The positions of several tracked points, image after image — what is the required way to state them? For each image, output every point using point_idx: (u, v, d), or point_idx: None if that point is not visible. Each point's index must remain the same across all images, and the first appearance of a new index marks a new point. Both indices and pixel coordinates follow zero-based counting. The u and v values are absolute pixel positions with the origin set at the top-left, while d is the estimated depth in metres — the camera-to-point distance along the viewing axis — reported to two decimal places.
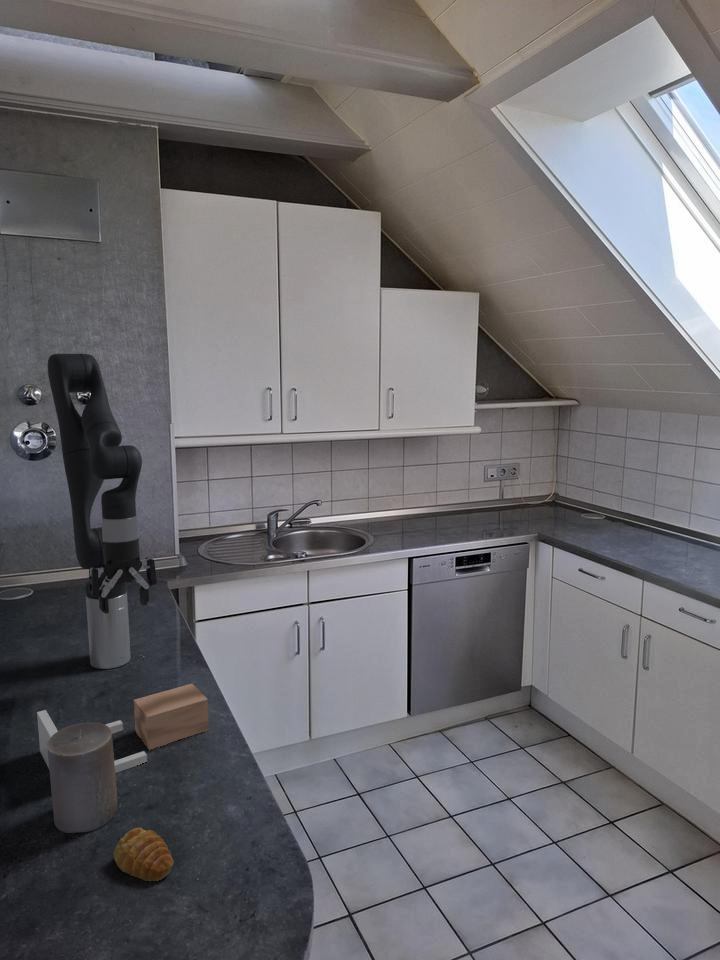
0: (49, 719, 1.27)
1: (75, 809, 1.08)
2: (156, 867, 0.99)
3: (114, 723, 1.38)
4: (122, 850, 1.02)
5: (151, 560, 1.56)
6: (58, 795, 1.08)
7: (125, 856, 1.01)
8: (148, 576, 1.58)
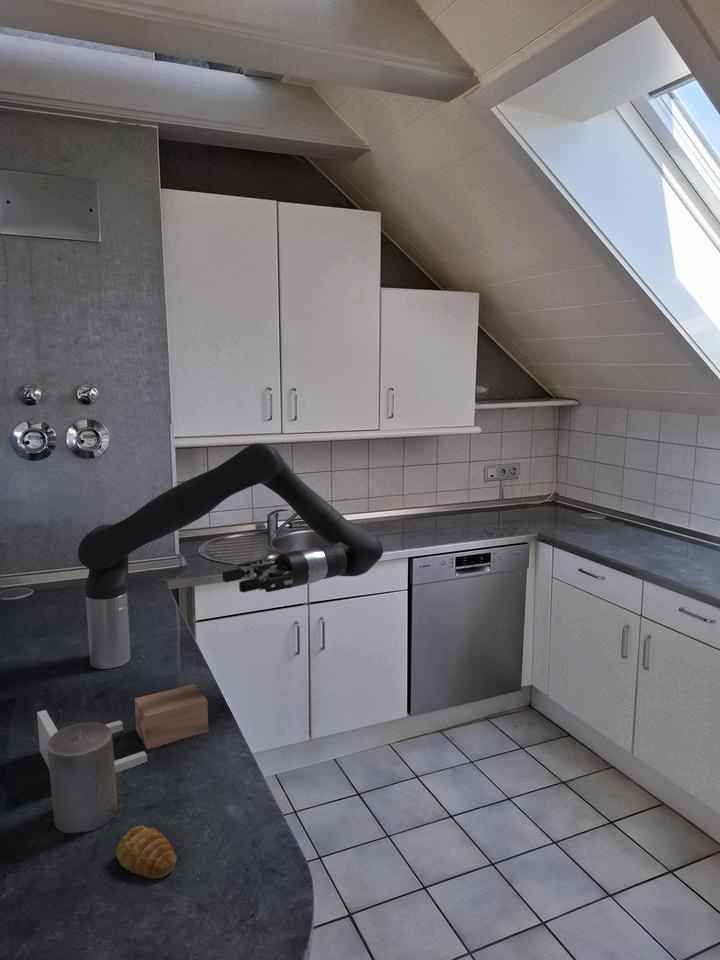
0: (49, 719, 1.27)
1: (75, 809, 1.08)
2: (159, 863, 1.00)
3: (114, 723, 1.38)
4: (125, 848, 1.02)
5: None
6: (58, 795, 1.08)
7: (128, 854, 1.01)
8: (245, 566, 1.49)
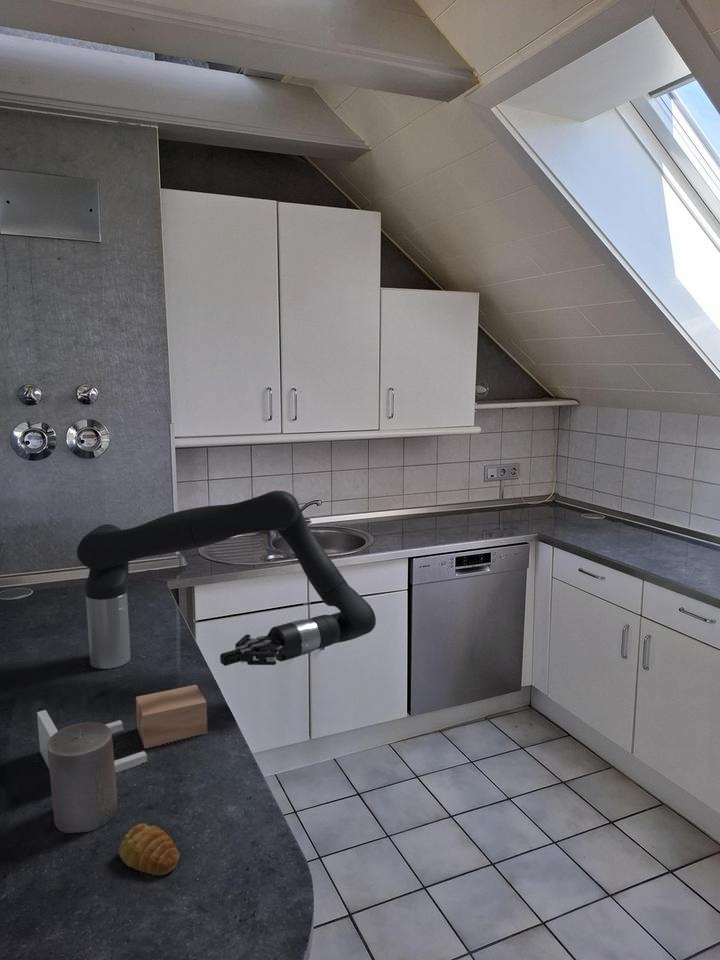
0: (49, 719, 1.27)
1: (75, 809, 1.08)
2: (163, 860, 1.00)
3: (114, 723, 1.38)
4: (128, 846, 1.02)
5: None
6: (58, 795, 1.08)
7: (131, 852, 1.02)
8: None
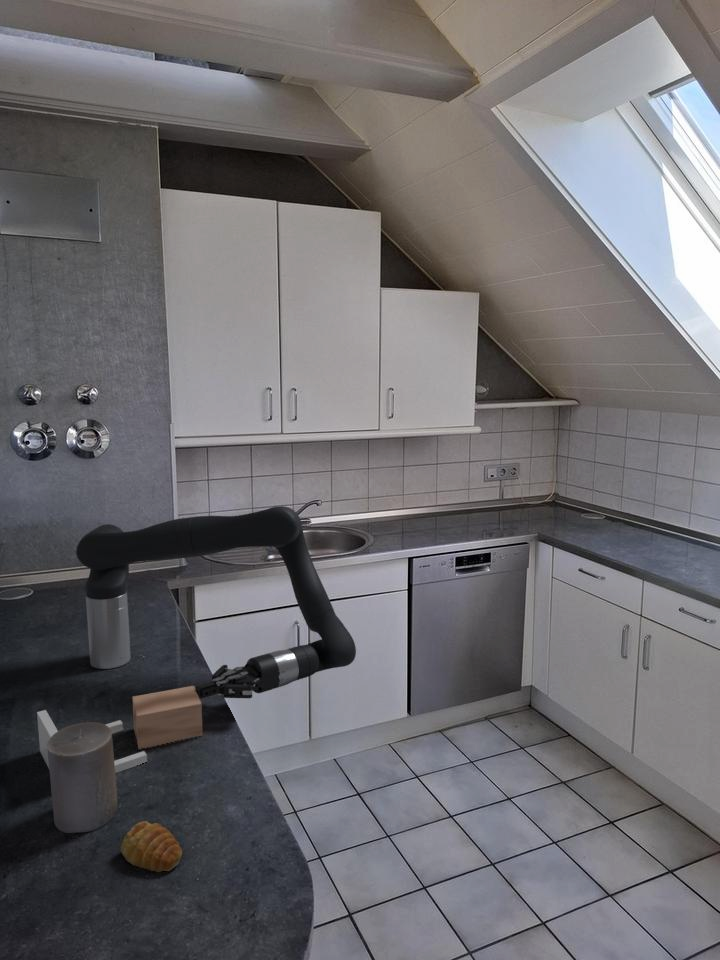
0: (49, 719, 1.27)
1: (75, 809, 1.08)
2: (166, 857, 1.01)
3: (114, 723, 1.38)
4: (130, 843, 1.03)
5: None
6: (58, 795, 1.08)
7: (133, 849, 1.02)
8: None
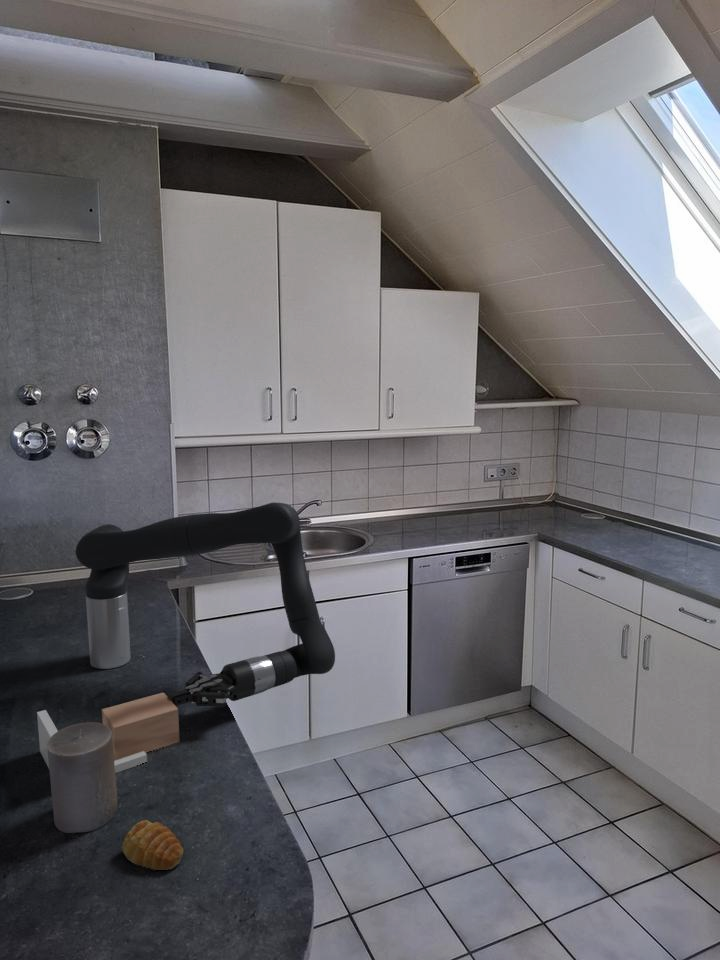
0: (49, 719, 1.27)
1: (75, 809, 1.08)
2: (167, 856, 1.01)
3: None
4: (131, 842, 1.03)
5: None
6: (58, 795, 1.08)
7: (135, 848, 1.02)
8: None
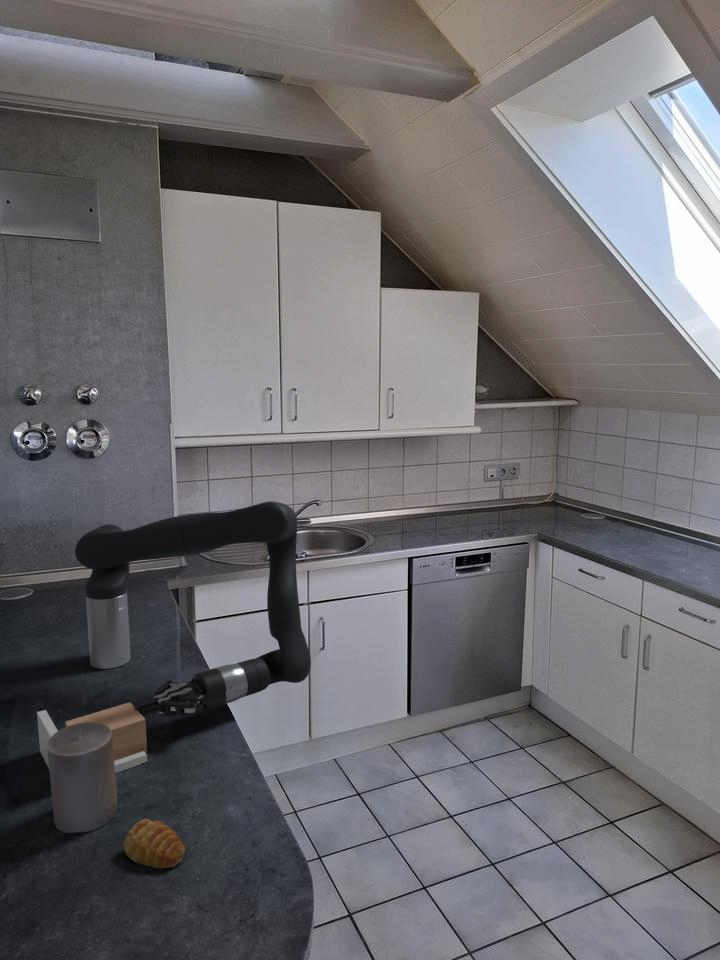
0: (49, 719, 1.27)
1: (75, 809, 1.08)
2: (169, 854, 1.02)
3: None
4: (133, 841, 1.03)
5: None
6: (58, 795, 1.08)
7: (136, 847, 1.03)
8: None
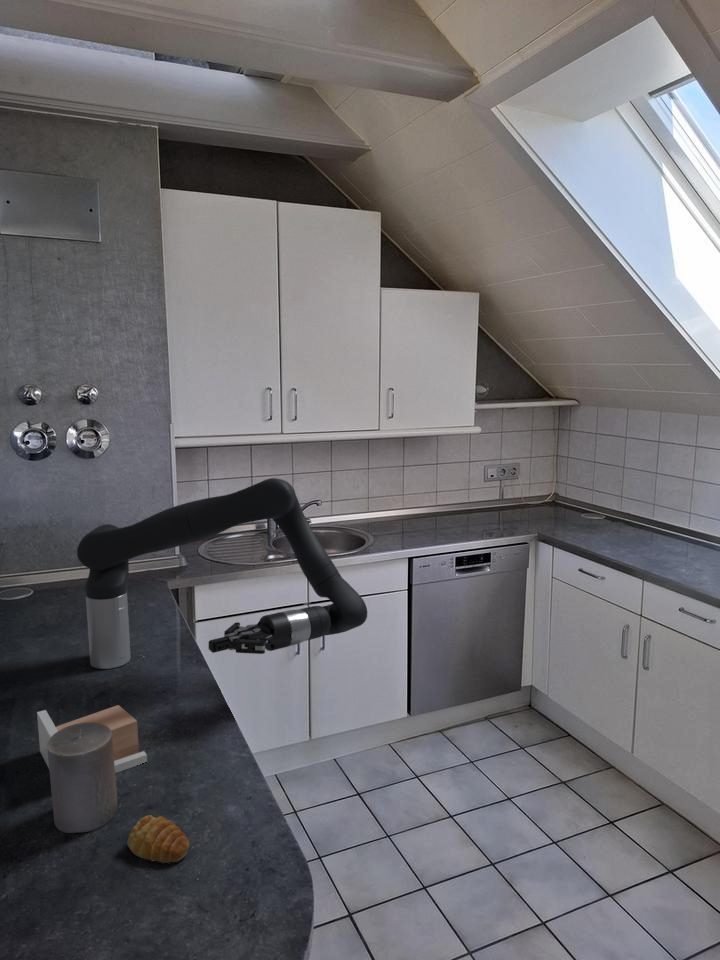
0: (49, 719, 1.27)
1: (75, 809, 1.08)
2: (175, 848, 1.03)
3: None
4: (137, 837, 1.04)
5: None
6: (58, 795, 1.08)
7: (141, 843, 1.04)
8: None
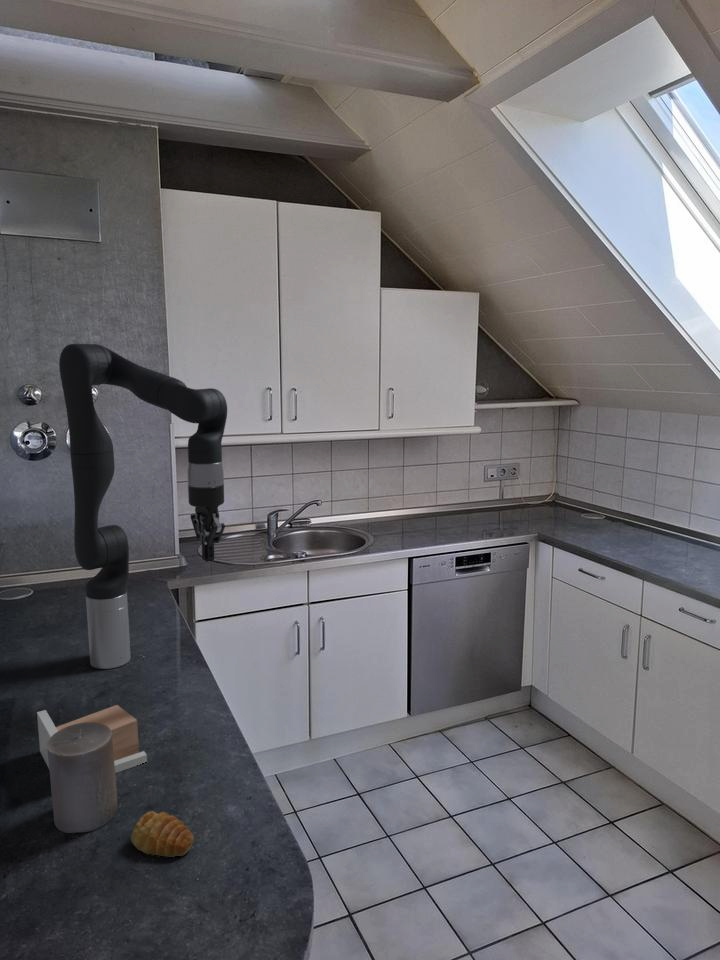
0: (49, 719, 1.27)
1: (75, 809, 1.08)
2: (180, 842, 1.04)
3: None
4: (141, 833, 1.05)
5: None
6: (58, 795, 1.08)
7: (146, 838, 1.04)
8: None
